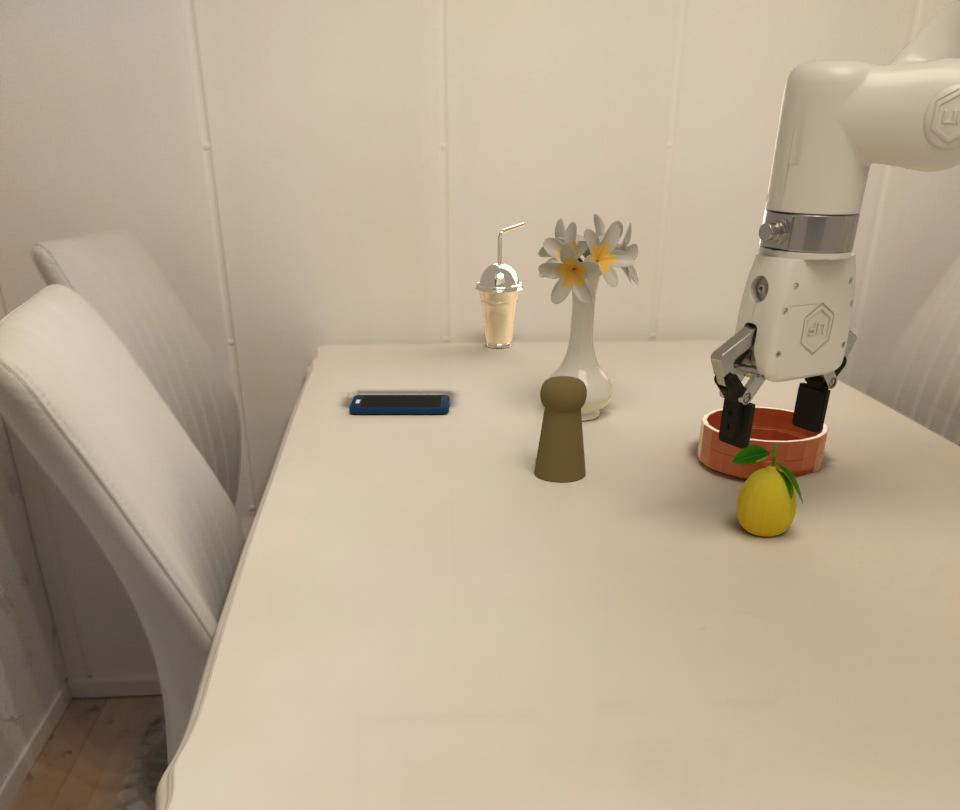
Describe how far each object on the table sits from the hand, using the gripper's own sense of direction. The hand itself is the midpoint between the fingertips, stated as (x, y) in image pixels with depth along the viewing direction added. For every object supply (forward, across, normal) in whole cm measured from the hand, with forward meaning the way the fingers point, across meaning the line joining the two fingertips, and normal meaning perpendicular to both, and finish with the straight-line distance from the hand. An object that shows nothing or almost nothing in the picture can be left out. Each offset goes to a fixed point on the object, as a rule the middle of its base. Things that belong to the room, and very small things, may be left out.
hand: (770, 436), depth 85 cm
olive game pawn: (+11, -4, +26) cm, 28 cm away
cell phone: (+11, -8, +60) cm, 61 cm away
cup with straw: (+11, +26, +86) cm, 90 cm away
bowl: (+10, +18, +16) cm, 26 cm away
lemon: (+11, 0, 0) cm, 11 cm away
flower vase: (+11, +12, +43) cm, 45 cm away
